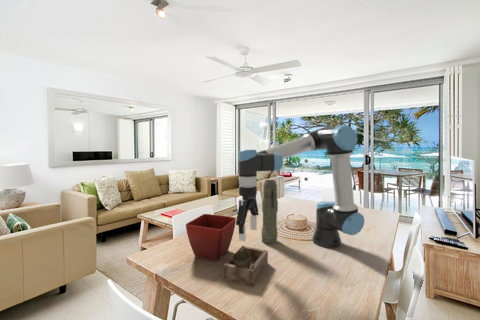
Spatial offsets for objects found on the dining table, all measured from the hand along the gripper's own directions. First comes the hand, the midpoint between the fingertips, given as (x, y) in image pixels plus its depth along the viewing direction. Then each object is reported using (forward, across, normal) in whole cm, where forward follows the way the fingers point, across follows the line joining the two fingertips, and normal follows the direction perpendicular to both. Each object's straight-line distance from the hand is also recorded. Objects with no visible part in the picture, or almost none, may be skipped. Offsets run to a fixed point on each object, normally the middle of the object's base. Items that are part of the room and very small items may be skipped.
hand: (248, 234), depth 102 cm
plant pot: (+16, -8, -22) cm, 28 cm away
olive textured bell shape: (+15, +5, 0) cm, 15 cm away
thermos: (+16, -34, 0) cm, 38 cm away
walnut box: (+16, 0, 0) cm, 16 cm away
